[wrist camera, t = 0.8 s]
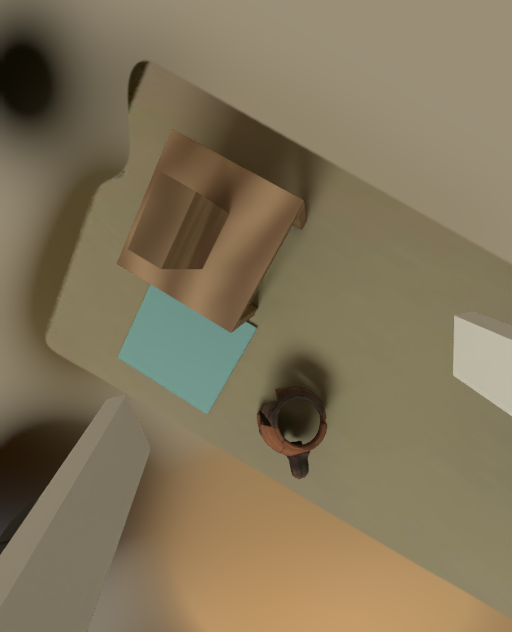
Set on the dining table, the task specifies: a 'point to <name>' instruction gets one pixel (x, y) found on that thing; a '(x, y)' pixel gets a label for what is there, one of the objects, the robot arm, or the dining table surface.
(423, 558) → the dining table surface
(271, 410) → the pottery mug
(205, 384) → the teal mat
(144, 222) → the brown piece
